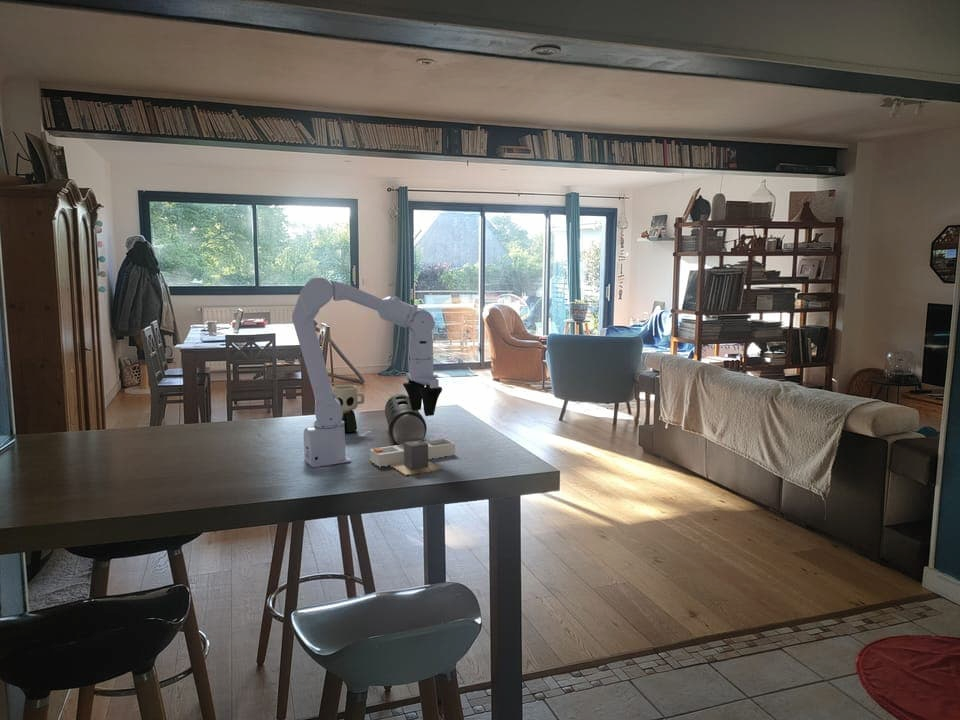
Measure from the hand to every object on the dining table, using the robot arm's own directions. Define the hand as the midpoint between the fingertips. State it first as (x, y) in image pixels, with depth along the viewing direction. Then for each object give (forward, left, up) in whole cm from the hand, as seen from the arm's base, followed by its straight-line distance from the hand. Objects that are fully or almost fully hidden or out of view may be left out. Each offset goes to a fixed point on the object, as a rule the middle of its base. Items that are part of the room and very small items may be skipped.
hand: (422, 412), depth 169 cm
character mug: (-9, +33, -11) cm, 36 cm away
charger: (-7, -11, -10) cm, 16 cm away
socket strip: (-4, -3, -10) cm, 11 cm away
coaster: (-7, -11, -10) cm, 16 cm away
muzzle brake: (+2, +16, -11) cm, 20 cm away
